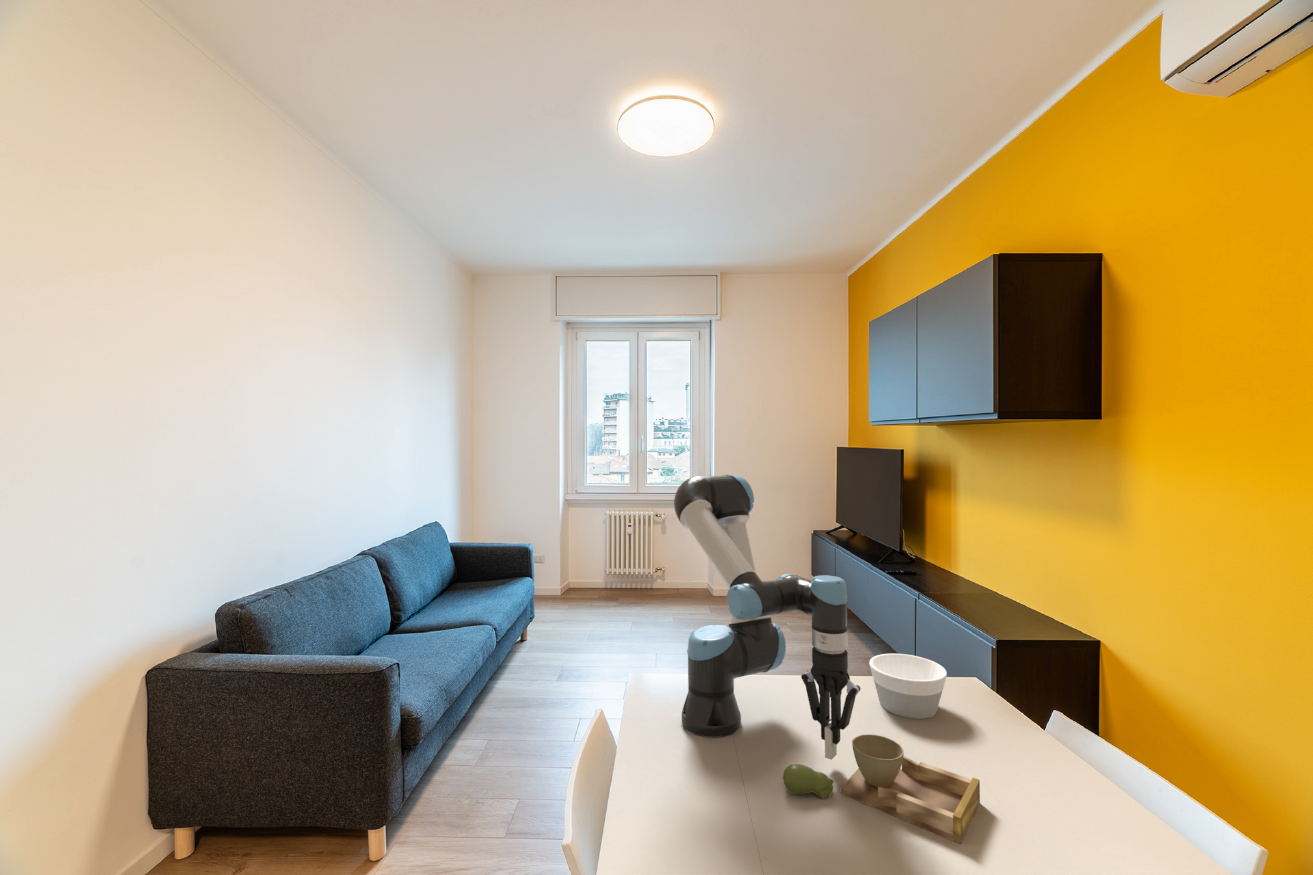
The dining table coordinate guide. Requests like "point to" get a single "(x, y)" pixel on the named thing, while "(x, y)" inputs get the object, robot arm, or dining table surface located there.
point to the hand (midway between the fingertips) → (830, 755)
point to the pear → (807, 781)
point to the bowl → (908, 684)
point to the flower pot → (878, 759)
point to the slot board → (923, 798)
